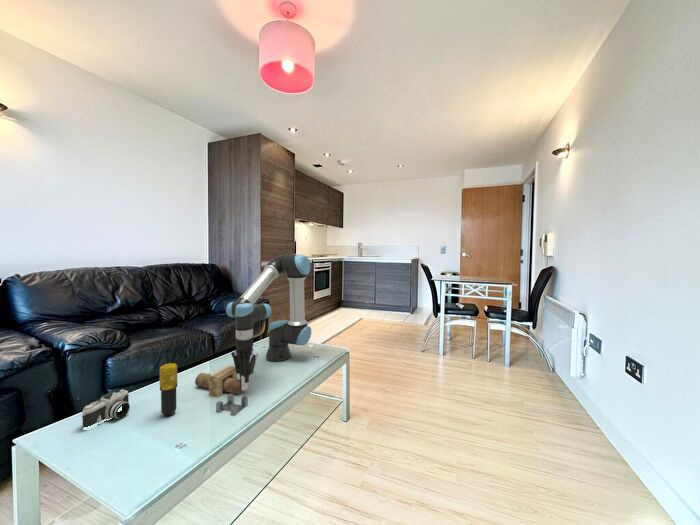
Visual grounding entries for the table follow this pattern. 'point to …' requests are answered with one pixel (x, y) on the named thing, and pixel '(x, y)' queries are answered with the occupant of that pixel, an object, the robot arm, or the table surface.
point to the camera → (106, 408)
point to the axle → (227, 383)
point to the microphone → (168, 388)
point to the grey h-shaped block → (231, 405)
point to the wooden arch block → (220, 380)
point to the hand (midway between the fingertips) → (244, 388)
